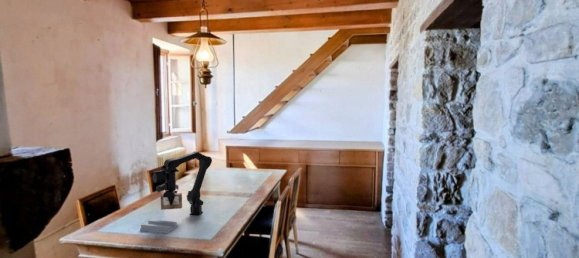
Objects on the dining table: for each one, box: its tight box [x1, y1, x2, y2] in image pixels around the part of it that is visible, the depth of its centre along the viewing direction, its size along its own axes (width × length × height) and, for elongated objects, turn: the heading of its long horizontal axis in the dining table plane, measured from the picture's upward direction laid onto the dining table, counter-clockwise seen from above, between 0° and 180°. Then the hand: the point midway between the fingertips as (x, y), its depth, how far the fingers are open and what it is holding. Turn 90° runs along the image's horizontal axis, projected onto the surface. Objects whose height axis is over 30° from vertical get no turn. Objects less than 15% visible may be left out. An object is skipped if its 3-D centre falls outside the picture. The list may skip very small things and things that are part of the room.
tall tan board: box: [160, 192, 183, 211], centre depth 197 cm, size 12×3×9 cm, turn 101°
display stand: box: [139, 219, 179, 234], centre depth 185 cm, size 18×10×3 cm, turn 76°
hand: (171, 204), depth 197 cm, fingers closed on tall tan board, 3 cm apart
